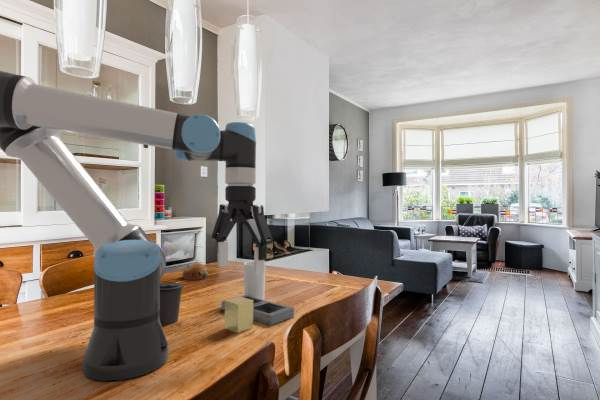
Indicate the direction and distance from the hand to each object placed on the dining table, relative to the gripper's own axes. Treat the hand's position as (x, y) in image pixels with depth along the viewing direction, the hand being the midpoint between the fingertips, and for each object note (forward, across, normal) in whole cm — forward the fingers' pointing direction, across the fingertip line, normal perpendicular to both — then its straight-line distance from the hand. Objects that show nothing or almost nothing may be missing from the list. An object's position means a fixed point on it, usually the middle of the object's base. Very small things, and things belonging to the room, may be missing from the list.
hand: (240, 270), depth 91 cm
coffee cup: (+15, +18, +9) cm, 25 cm away
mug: (+15, +15, -20) cm, 30 cm away
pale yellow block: (+15, 0, 0) cm, 15 cm away
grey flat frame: (+15, +5, -11) cm, 19 cm away
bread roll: (+15, +57, -27) cm, 65 cm away
